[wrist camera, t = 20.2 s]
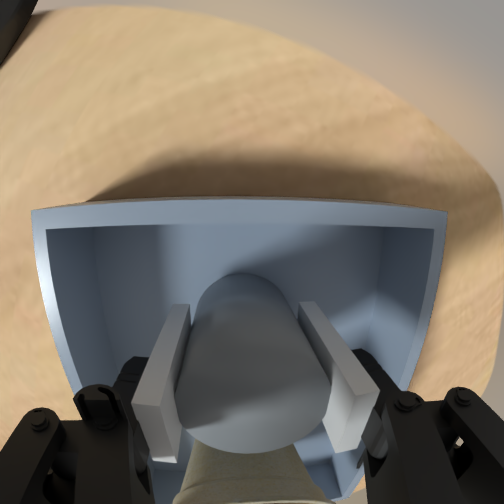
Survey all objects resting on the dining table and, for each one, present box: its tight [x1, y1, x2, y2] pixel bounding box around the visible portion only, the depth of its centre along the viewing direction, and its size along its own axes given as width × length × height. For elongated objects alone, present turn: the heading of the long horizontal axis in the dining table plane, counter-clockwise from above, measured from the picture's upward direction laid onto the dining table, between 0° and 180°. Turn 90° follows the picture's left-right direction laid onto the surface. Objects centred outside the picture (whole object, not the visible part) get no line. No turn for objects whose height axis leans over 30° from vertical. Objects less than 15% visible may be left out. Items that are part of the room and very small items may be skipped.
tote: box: [31, 196, 448, 504], centre depth 14 cm, size 24×18×5 cm
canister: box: [175, 274, 331, 454], centre depth 11 cm, size 5×5×7 cm
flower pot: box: [172, 438, 336, 504], centre depth 13 cm, size 9×9×9 cm
